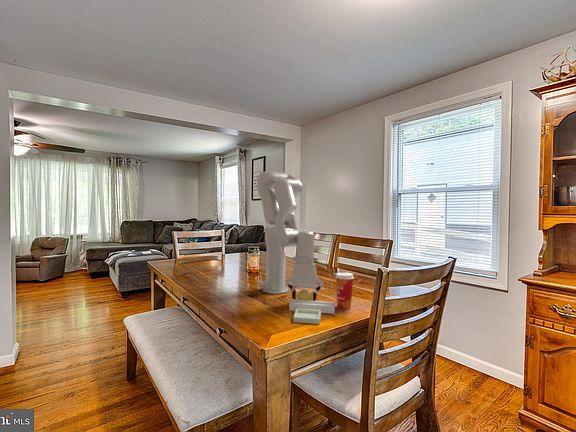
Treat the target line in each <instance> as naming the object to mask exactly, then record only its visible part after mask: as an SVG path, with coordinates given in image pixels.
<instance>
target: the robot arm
mask: <svg viewBox="0 0 576 432" xmlns="http://www.w3.org/2000/svg"><path fill="white" fill-rule="evenodd" d="M303 188H304V187H303V183H302V182H301V180H299V178H296V177H294V175H292V174H290V173H287V172H280V171H271V170H270V171H269V170H268V171H263V172H260V173H259V174H258V175H257V178H256V189H257V190H256V191H257V192H258V195H259V197H260V201H261V205H262V211H263V216H264V221H265V223H266V224H267V225H269V226H273V227H270V228H267V229H266V231H265V233H264V241H265V247H266V251H265V252H266V266H265V267H266V269H265V271H266V273H265V280H264V281H260V280H258V281H257V285H258V286H259V287H262V291H263V293H267V294H271V295H273V294H274V295H276V294H277V295H279V294H280V295H281V294H285V293H287V292H289V289H290V291H291V298H292V299H295V300H297V290H296V288H304V289H305V288H307V289H308V288H309V289H312V290H313V292H312V301H317V294H318V292H319V291H320V290H321V289H322V288H323V286H324V284H325V283H324V281H323V280H321V279H320V278H319V277H317V268H316V267H317V266H316V263H315V260H314V259H315V257H314V256H315V233H314V232H312V231H306V230H304V229H298V223H297V219H296V214H295V211H296V210H297V209H298V206H297V205H298V204H297V202H296V199H295V197H300V196H301V195H302V193H303V191H304V189H303ZM272 189H274V191H273V190H272ZM293 247H296V254H295V255H296V256H292V260H293V261H295V262H294V264H293V269H292V276H290V277H289V278H287V279H286V261H287V260H286V252H285V250H284V249H283V248H293ZM291 283H292V284H291ZM318 283H319V285H317V284H318Z"/></svg>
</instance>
